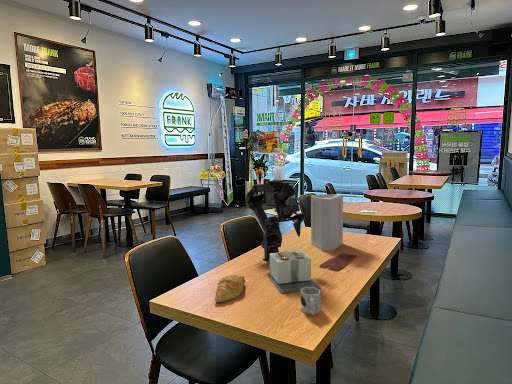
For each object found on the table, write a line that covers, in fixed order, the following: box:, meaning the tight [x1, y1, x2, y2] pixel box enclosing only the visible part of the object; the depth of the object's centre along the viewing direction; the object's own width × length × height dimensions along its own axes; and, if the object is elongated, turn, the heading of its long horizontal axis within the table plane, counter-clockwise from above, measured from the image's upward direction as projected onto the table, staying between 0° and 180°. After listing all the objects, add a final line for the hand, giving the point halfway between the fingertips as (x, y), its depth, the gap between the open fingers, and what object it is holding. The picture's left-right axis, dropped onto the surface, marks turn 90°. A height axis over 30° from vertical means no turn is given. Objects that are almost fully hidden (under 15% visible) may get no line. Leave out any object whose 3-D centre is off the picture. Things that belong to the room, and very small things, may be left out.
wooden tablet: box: [319, 253, 358, 272], centre depth 164 cm, size 27×10×2 cm, turn 143°
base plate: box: [266, 255, 322, 295], centre depth 139 cm, size 20×16×11 cm
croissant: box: [214, 274, 246, 303], centre depth 130 cm, size 21×10×8 cm, turn 157°
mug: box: [300, 287, 322, 316], centre depth 113 cm, size 10×7×7 cm, turn 178°
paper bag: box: [310, 193, 344, 253], centre depth 189 cm, size 19×15×28 cm
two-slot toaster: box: [268, 250, 312, 284], centre depth 142 cm, size 12×14×9 cm
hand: (290, 237), depth 151 cm, fingers open, 9 cm apart
